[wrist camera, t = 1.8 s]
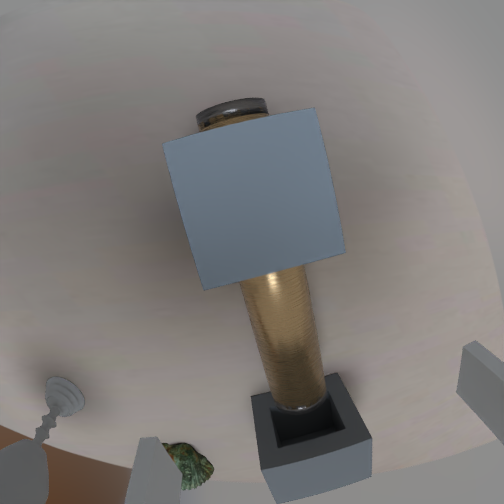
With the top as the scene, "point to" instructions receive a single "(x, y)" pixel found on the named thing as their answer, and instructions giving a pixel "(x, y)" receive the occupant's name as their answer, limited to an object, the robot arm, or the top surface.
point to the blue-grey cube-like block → (255, 197)
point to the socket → (312, 445)
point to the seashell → (189, 465)
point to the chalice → (36, 449)
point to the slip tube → (278, 304)
